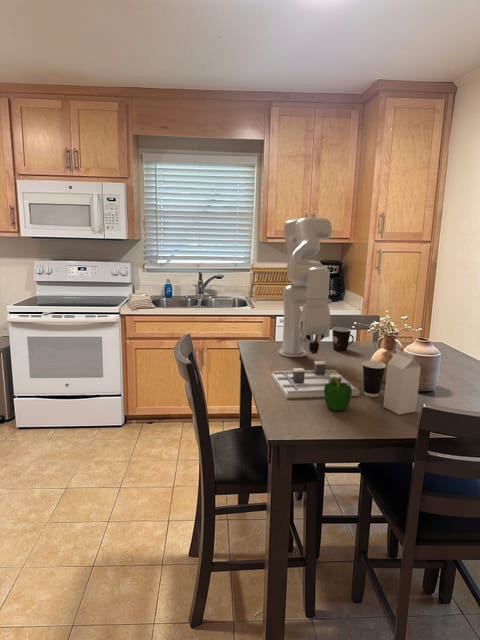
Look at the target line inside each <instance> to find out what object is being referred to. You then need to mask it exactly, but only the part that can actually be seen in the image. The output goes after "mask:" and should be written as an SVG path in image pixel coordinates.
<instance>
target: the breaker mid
mask: <svg viewBox="0 0 480 640" xmlns="http://www.w3.org/2000/svg"><path fill="white" fill-rule="evenodd" d="M292 371H293V382H294V383H302V382H304V375H305V369H304V368H303V367H301V368H300V367H298V368H297V367H296V368H295V367H293V368H292Z"/></svg>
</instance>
